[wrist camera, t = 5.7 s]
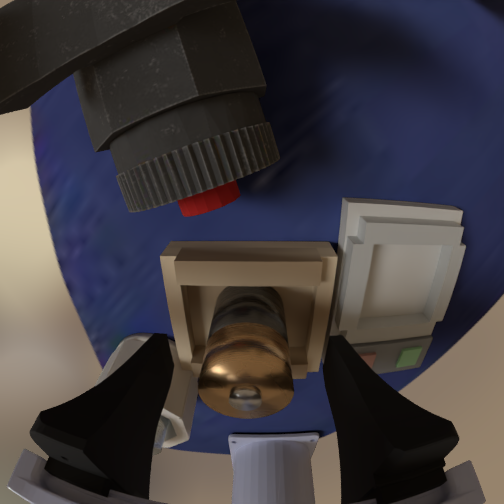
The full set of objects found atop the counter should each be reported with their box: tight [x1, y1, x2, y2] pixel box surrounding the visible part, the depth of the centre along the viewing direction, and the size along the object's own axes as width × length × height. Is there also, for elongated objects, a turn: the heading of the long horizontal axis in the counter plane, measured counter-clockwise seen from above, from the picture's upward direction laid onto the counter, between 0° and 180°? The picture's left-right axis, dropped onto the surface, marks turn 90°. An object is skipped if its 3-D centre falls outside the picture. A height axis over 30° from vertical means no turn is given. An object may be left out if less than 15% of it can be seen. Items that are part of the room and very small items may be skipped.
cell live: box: [198, 286, 294, 419], centre depth 12 cm, size 4×4×6 cm
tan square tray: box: [160, 241, 338, 379], centre depth 15 cm, size 7×8×2 cm
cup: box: [94, 333, 198, 448], centre depth 16 cm, size 6×6×5 cm
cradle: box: [321, 197, 466, 374], centre depth 14 cm, size 10×7×2 cm
